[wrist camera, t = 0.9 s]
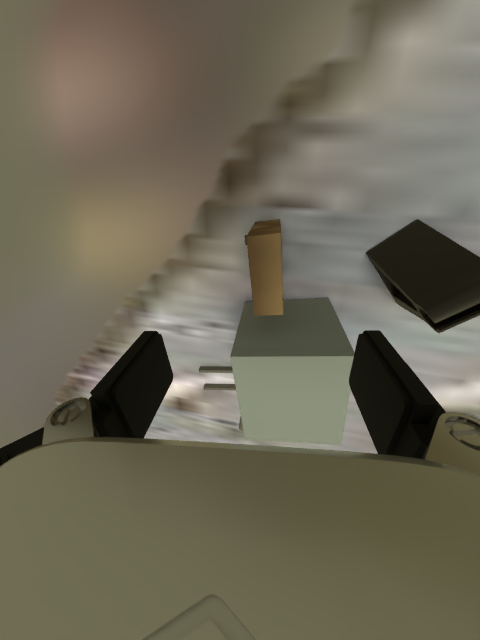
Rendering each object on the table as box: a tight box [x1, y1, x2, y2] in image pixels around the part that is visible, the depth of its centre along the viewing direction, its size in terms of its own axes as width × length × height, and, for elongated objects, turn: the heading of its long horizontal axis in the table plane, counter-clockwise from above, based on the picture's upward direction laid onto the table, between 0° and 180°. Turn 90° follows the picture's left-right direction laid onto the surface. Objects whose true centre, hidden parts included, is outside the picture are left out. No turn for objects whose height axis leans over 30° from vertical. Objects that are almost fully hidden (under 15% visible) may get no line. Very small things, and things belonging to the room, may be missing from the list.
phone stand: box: [366, 220, 480, 333], centre depth 23 cm, size 9×6×12 cm, turn 41°
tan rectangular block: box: [245, 219, 283, 316], centre depth 26 cm, size 4×8×10 cm, turn 7°
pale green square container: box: [199, 298, 355, 445], centre depth 33 cm, size 22×18×13 cm
